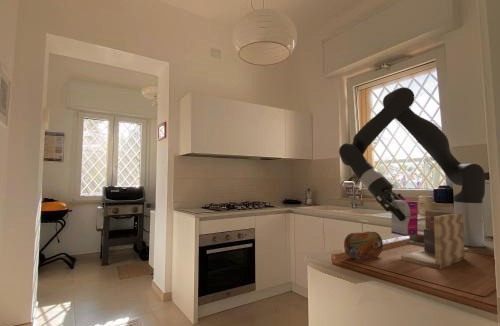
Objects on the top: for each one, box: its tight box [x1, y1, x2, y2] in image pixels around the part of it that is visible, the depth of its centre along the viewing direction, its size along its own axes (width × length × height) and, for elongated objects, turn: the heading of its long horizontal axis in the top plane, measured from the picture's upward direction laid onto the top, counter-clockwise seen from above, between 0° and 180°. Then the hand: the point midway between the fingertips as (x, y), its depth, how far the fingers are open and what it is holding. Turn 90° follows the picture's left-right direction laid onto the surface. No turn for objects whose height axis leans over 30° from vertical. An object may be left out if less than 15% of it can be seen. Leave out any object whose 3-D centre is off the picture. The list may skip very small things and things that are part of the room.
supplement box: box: [390, 200, 419, 237], centre depth 92 cm, size 6×6×12 cm
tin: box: [343, 231, 384, 261], centre depth 89 cm, size 15×3×8 cm, turn 114°
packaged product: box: [408, 231, 469, 252], centre depth 106 cm, size 18×5×10 cm
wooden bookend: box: [400, 209, 466, 270], centre depth 88 cm, size 19×11×15 cm, turn 124°
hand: (409, 218), depth 90 cm, fingers closed on supplement box, 6 cm apart
